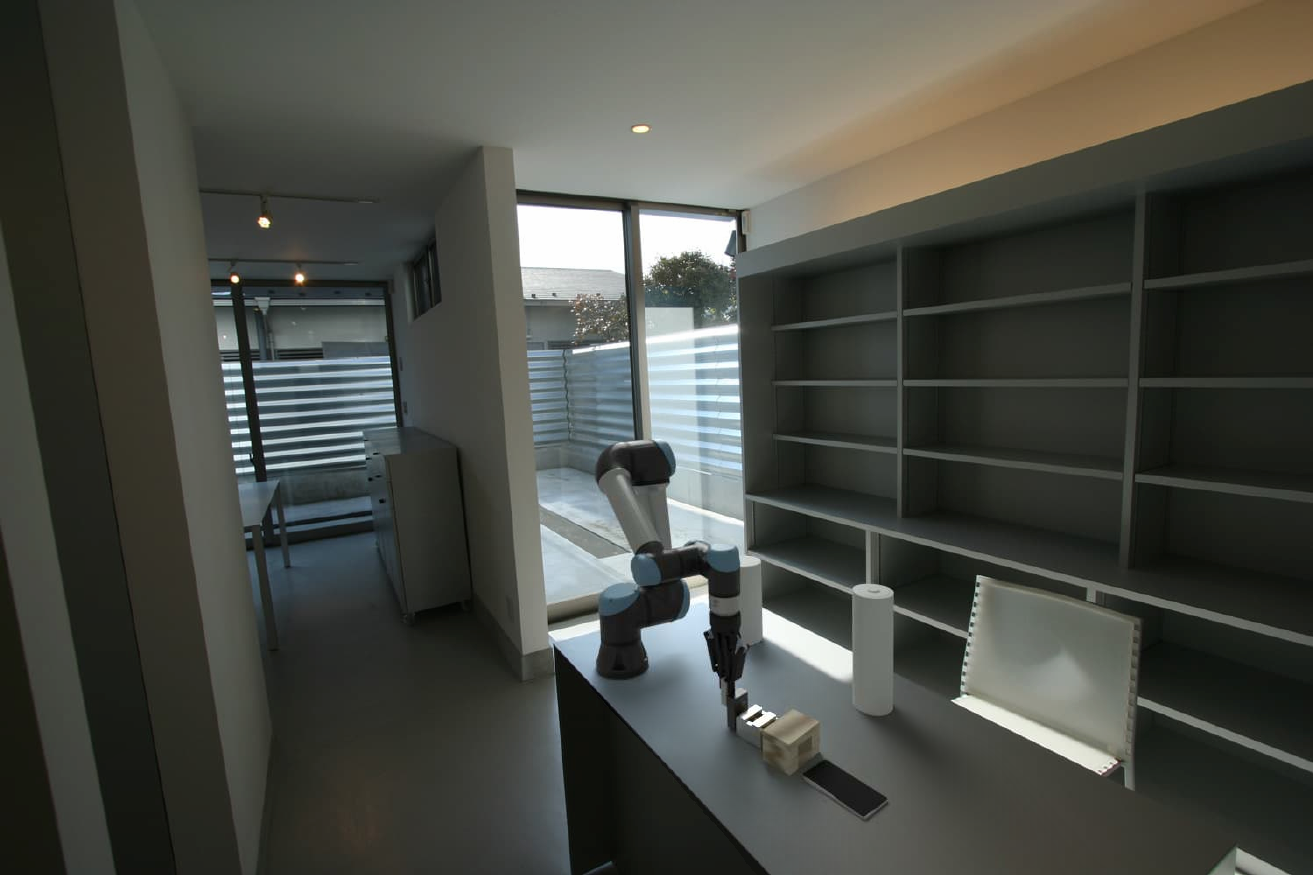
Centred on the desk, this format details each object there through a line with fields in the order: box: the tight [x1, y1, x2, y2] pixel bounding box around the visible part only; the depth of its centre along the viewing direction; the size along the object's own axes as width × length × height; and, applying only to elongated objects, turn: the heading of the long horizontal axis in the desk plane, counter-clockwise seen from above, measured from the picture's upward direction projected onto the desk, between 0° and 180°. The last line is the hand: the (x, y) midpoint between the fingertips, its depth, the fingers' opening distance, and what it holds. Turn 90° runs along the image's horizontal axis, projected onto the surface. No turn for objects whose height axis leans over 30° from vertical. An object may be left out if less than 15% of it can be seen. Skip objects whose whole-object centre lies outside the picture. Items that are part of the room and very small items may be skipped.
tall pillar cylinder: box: [739, 554, 764, 646], centre depth 185 cm, size 11×11×25 cm
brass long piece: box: [726, 687, 771, 731], centre depth 135 cm, size 18×5×8 cm, turn 41°
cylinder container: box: [851, 583, 895, 717], centre depth 146 cm, size 9×9×30 cm
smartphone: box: [802, 759, 889, 821], centre depth 119 cm, size 8×1×15 cm
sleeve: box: [736, 704, 779, 751], centre depth 137 cm, size 7×6×5 cm
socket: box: [762, 708, 821, 777], centre depth 130 cm, size 7×11×7 cm, turn 131°
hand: (727, 703), depth 143 cm, fingers closed
